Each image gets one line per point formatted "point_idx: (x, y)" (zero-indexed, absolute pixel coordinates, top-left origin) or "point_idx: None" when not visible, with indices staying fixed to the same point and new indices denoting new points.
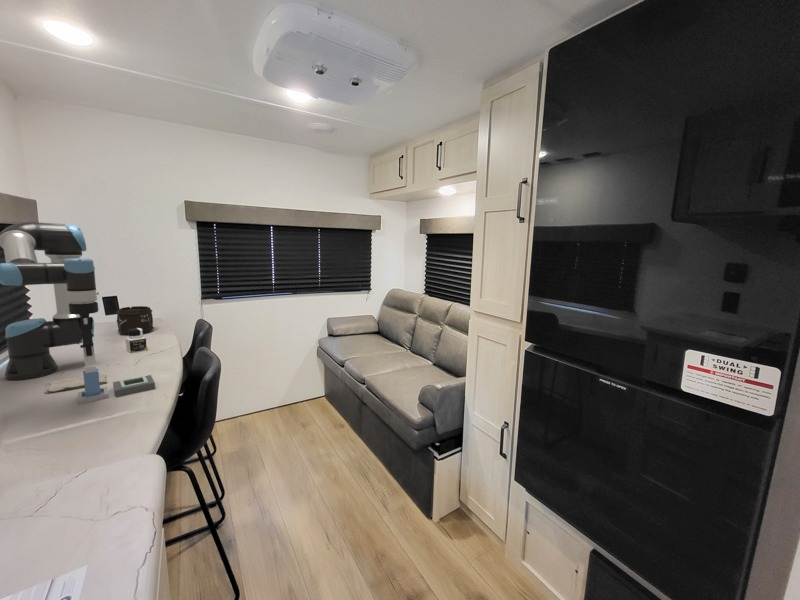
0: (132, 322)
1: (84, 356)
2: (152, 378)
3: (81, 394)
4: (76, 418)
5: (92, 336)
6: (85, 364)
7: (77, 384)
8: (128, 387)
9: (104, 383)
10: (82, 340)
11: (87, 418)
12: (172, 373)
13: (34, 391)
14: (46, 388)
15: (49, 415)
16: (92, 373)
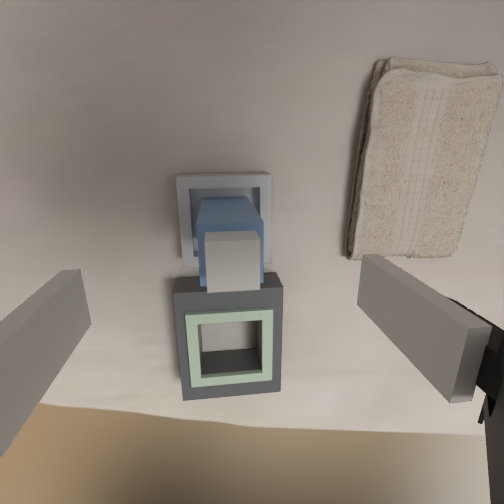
0: None
1: (17, 310)
2: (235, 395)
3: (234, 186)
4: (56, 167)
5: (482, 411)
6: (59, 276)
7: (383, 171)
8: (181, 331)
9: (350, 251)
10: (451, 318)
11: (36, 199)
12: (324, 420)
13: (471, 23)
14: (437, 64)
15: (143, 83)
16: (200, 260)
